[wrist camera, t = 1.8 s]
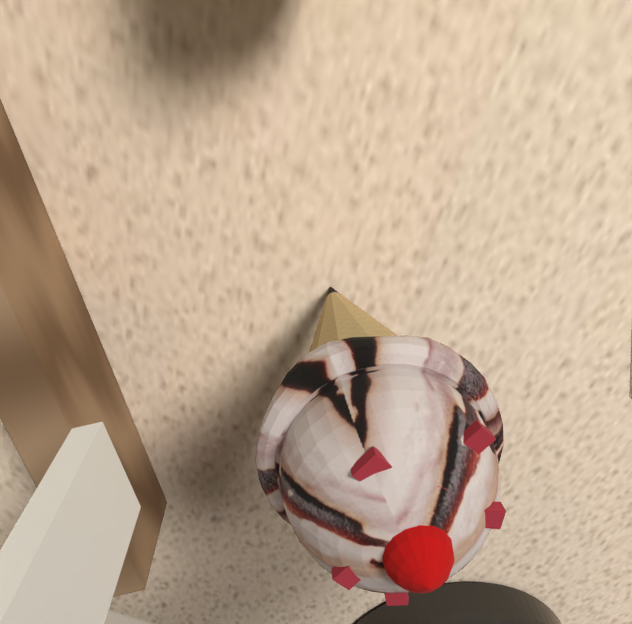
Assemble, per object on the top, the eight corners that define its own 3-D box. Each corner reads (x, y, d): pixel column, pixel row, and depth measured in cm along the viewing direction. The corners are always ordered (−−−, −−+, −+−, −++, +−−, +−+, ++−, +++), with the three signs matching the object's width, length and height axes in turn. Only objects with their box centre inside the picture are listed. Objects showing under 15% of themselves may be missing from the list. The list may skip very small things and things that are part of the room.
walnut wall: (166, 502, 26) (144, 589, 21) (127, 511, 26) (96, 600, 21) (-16, 62, 18) (-111, 49, 14) (-72, 75, 18) (-186, 66, 14)
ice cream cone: (330, 372, 24) (415, 743, 10) (233, 294, 22) (174, 615, 8) (422, 282, 23) (660, 566, 9) (326, 192, 21) (436, 372, 7)
